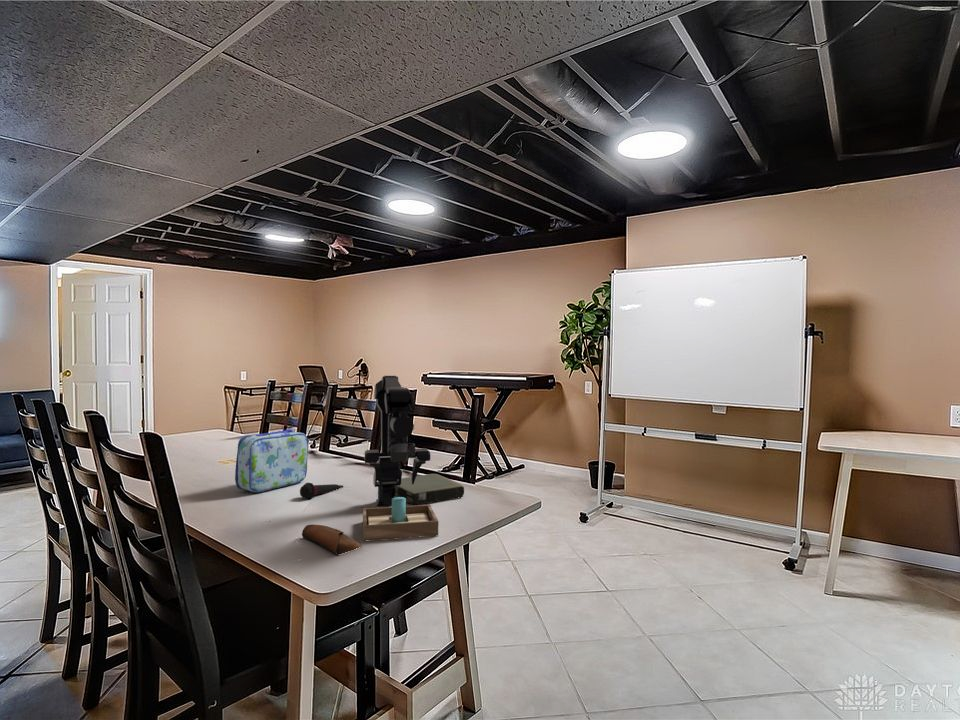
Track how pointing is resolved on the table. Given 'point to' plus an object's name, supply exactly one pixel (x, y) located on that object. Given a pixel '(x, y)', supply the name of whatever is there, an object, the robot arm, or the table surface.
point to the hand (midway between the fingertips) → (396, 484)
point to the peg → (398, 509)
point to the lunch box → (271, 460)
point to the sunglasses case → (330, 538)
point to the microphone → (316, 489)
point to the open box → (415, 525)
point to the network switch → (428, 489)
